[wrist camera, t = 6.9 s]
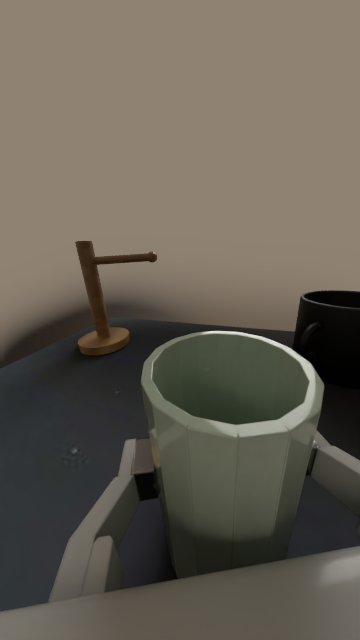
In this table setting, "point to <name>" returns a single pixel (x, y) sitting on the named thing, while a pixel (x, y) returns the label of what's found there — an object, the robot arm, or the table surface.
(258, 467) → the cup
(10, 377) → the table surface
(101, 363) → the table surface
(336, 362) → the mug
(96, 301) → the mug stand
